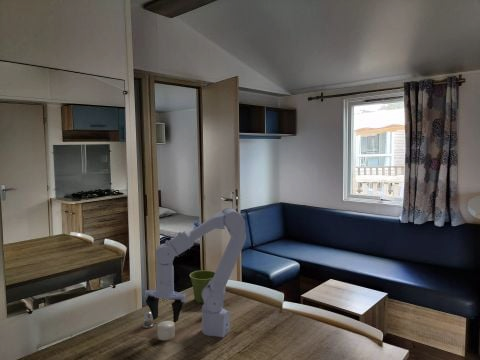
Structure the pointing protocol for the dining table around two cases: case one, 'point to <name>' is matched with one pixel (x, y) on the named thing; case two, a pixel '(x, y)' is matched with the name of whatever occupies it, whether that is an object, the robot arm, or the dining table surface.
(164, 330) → the cap
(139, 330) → the post board
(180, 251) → the robot arm
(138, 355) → the dining table surface
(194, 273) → the plant pot
